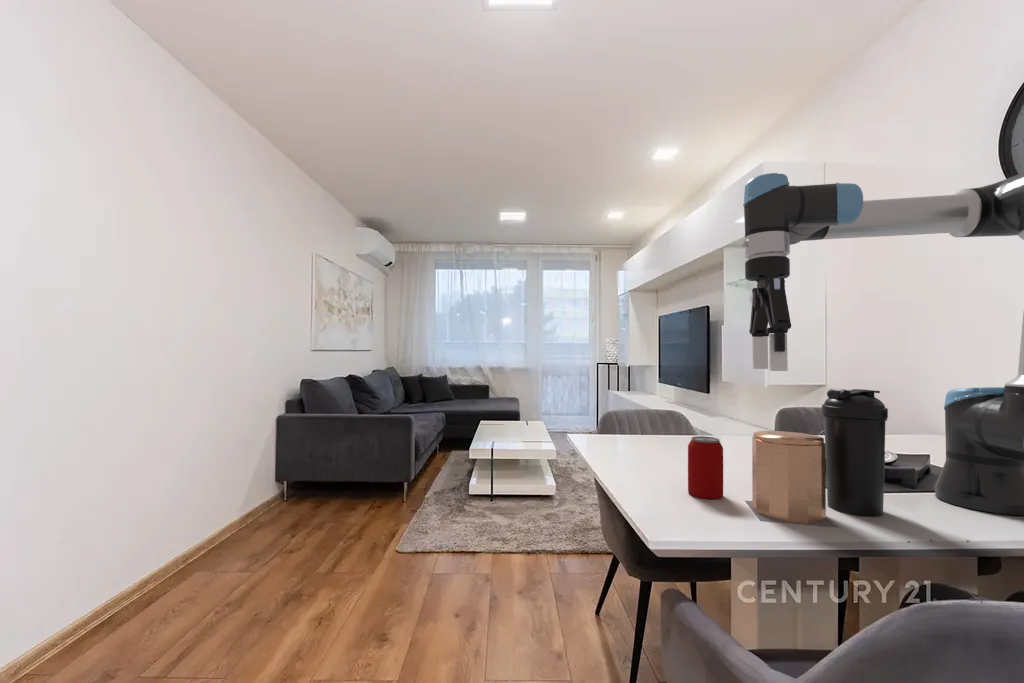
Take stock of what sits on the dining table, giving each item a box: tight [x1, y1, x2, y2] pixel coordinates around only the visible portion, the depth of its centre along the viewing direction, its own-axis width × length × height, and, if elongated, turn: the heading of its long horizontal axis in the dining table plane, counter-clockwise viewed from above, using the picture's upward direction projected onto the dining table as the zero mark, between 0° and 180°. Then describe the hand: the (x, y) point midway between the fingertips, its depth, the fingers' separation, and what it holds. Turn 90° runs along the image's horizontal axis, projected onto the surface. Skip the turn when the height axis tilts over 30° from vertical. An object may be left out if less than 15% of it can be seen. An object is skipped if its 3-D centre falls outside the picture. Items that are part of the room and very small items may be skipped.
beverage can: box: [687, 435, 724, 500], centre depth 99 cm, size 7×7×12 cm
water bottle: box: [821, 388, 889, 518], centre depth 91 cm, size 10×10×23 cm
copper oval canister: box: [751, 430, 827, 525], centre depth 88 cm, size 11×11×14 cm
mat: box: [744, 500, 840, 529], centre depth 88 cm, size 12×12×1 cm
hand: (768, 370), depth 91 cm, fingers open, 13 cm apart
